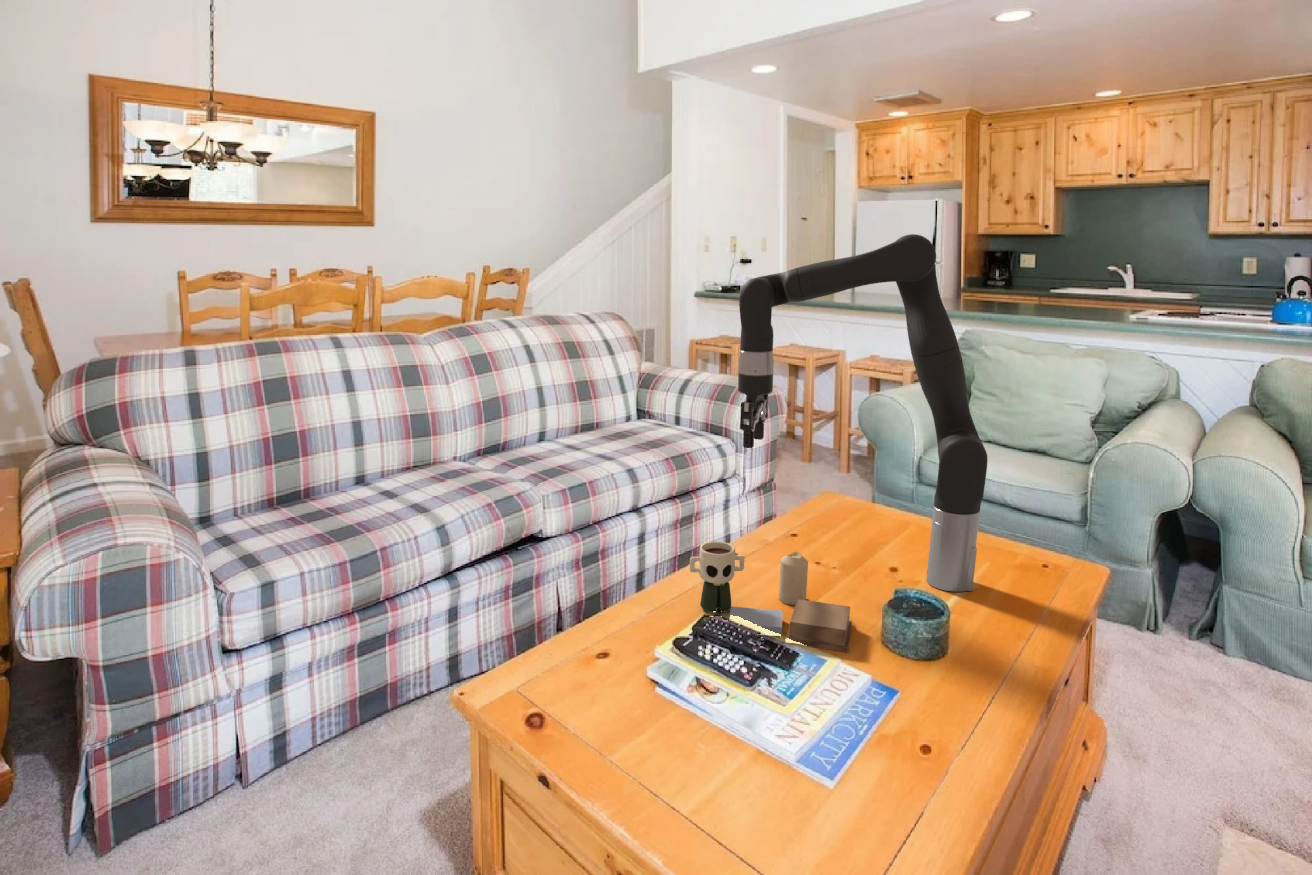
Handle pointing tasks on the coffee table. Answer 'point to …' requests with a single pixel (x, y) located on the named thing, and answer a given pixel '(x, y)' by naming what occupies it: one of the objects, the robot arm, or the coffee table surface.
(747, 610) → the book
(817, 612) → the stand
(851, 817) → the coffee table surface
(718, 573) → the character mug
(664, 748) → the coffee table surface
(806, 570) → the candle
